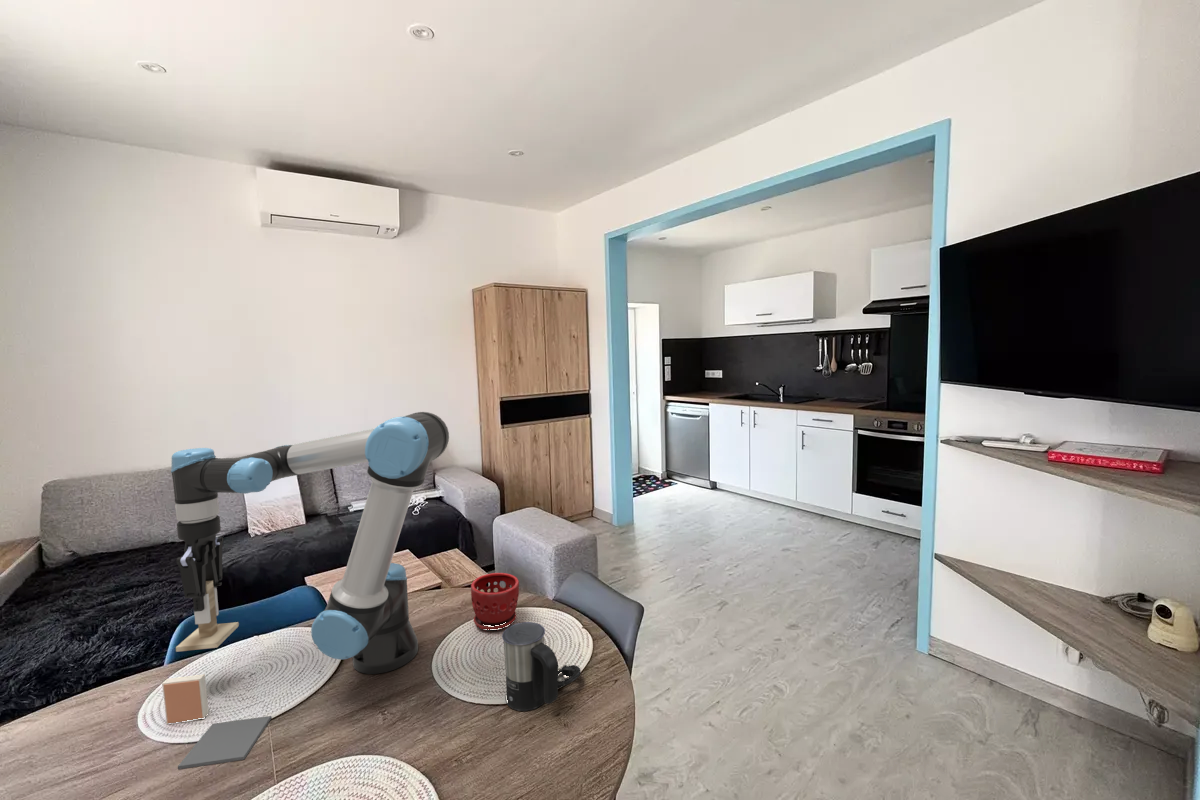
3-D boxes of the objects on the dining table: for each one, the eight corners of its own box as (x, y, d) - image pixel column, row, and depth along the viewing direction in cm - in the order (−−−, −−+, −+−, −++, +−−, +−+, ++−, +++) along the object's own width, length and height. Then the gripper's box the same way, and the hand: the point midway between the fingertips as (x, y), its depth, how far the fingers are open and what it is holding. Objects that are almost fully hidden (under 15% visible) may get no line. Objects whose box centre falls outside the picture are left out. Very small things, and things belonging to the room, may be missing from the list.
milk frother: (496, 705, 108) (493, 639, 106) (534, 663, 122) (531, 604, 121) (555, 723, 102) (552, 653, 101) (587, 676, 116) (585, 615, 115)
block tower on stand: (238, 626, 120) (234, 573, 118) (217, 647, 111) (212, 590, 110) (201, 629, 118) (196, 576, 117) (176, 651, 109) (170, 594, 108)
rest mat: (271, 718, 105) (271, 715, 105) (244, 759, 95) (243, 756, 94) (212, 726, 103) (212, 723, 103) (178, 769, 93) (177, 766, 93)
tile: (208, 714, 107) (204, 674, 106) (203, 720, 105) (199, 679, 105) (171, 719, 106) (167, 678, 105) (166, 725, 104) (161, 684, 103)
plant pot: (471, 638, 133) (469, 595, 132) (473, 614, 146) (471, 574, 145) (521, 632, 136) (519, 589, 135) (519, 608, 149) (517, 569, 148)
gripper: (200, 509, 119) (208, 604, 121) (155, 531, 104) (165, 639, 106) (235, 506, 120) (243, 601, 122) (196, 528, 105) (205, 636, 107)
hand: (207, 619), depth 114 cm, fingers closed on block tower on stand, 2 cm apart
